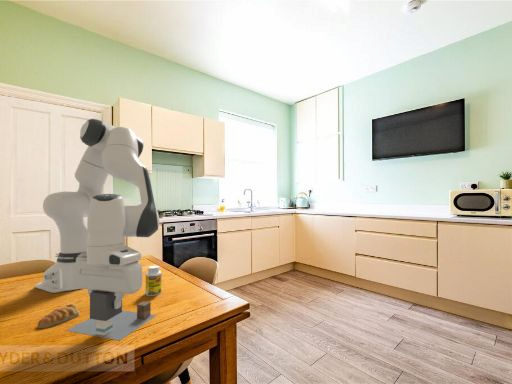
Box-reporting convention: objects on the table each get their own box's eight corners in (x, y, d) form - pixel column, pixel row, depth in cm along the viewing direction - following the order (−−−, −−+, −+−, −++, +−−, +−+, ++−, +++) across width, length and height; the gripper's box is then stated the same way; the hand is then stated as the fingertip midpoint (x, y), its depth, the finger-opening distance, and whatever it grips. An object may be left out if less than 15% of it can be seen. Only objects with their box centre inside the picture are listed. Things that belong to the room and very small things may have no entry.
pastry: (47, 332, 67) (48, 318, 67) (30, 329, 69) (31, 315, 69) (81, 316, 76) (81, 304, 76) (65, 314, 78) (65, 301, 78)
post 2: (137, 318, 73) (137, 304, 73) (143, 314, 76) (143, 301, 76) (144, 319, 73) (144, 305, 73) (150, 315, 75) (150, 302, 75)
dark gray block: (89, 318, 64) (89, 292, 64) (106, 309, 69) (106, 286, 69) (105, 321, 63) (105, 294, 63) (122, 312, 68) (122, 287, 68)
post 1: (96, 334, 65) (96, 307, 65) (104, 329, 67) (105, 303, 68) (104, 335, 64) (104, 308, 64) (112, 330, 67) (112, 304, 67)
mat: (65, 331, 67) (65, 330, 67) (109, 309, 80) (109, 308, 80) (119, 342, 62) (119, 340, 62) (156, 316, 75) (156, 315, 75)
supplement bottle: (146, 298, 89) (147, 269, 90) (144, 293, 94) (144, 266, 94) (162, 294, 93) (163, 267, 93) (159, 290, 97) (159, 264, 97)
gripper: (65, 255, 66) (64, 307, 66) (128, 259, 61) (128, 316, 60) (87, 250, 72) (86, 298, 72) (146, 253, 67) (146, 305, 66)
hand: (106, 306), depth 66 cm, fingers closed on dark gray block, 5 cm apart
